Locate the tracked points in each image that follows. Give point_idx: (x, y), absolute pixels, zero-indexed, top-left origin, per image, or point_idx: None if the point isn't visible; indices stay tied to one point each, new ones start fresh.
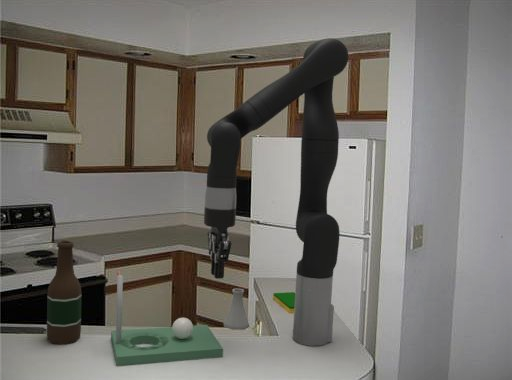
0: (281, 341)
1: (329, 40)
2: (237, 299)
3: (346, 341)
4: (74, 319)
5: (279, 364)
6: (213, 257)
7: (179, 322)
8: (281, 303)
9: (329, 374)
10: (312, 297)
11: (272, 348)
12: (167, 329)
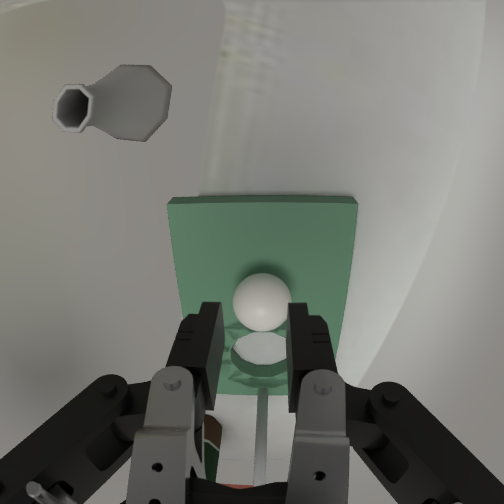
0: (279, 3)
1: None
2: (105, 109)
3: None
4: (209, 449)
5: (426, 77)
6: (202, 419)
7: (275, 326)
8: None
9: (481, 11)
10: None
11: (327, 45)
12: (196, 306)
